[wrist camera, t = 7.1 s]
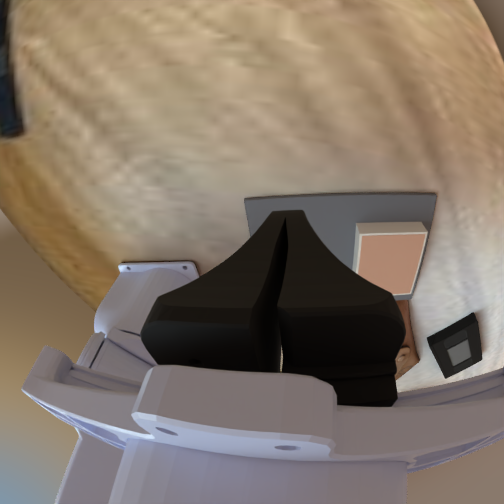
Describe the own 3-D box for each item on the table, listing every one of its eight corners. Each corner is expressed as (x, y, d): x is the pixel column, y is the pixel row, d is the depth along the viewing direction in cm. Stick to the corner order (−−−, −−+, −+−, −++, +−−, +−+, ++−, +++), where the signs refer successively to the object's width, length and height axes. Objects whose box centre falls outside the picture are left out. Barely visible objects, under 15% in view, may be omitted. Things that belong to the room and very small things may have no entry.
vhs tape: (472, 309, 26) (477, 320, 25) (479, 350, 32) (482, 359, 30) (425, 334, 30) (429, 346, 28) (443, 369, 35) (445, 378, 34)
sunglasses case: (423, 362, 33) (408, 401, 30) (384, 355, 38) (368, 392, 35) (406, 289, 25) (386, 345, 22) (350, 286, 31) (326, 334, 27)
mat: (263, 302, 29) (263, 305, 28) (244, 198, 22) (244, 200, 21) (410, 296, 26) (411, 299, 25) (434, 193, 19) (436, 195, 18)
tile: (352, 298, 24) (411, 294, 23) (359, 234, 20) (428, 232, 19) (350, 285, 25) (406, 282, 24) (356, 223, 21) (421, 221, 20)
